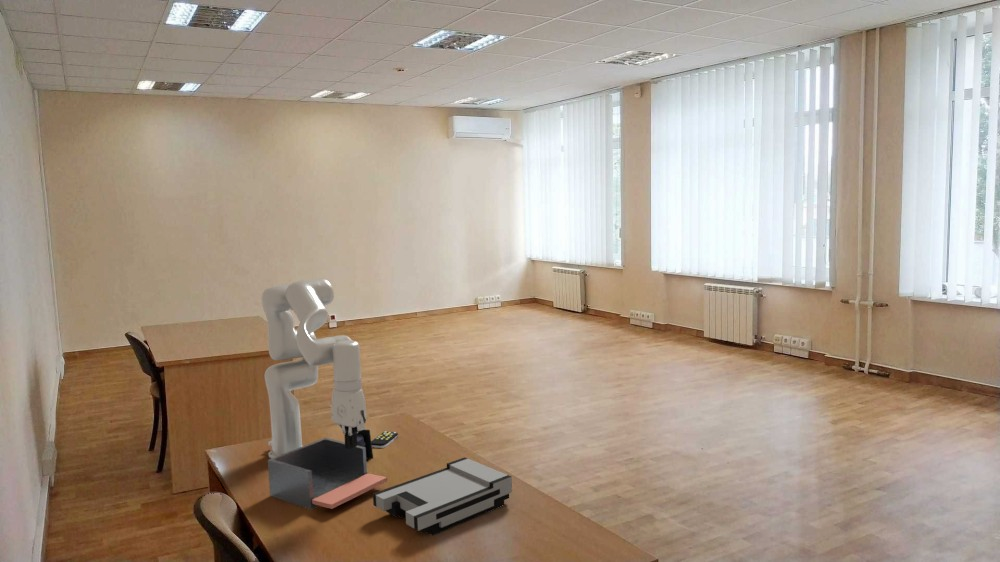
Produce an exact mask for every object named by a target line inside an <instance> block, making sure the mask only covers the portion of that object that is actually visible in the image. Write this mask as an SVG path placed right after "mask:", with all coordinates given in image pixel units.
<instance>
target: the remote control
mask: <svg viewBox="0 0 1000 562" xmlns="http://www.w3.org/2000/svg"><path fill="white" fill-rule="evenodd" d="M398 437H399V433H398V432H396V431H387V430H386V431H383V432H381V433H380V434H379V435H378V436H376V437H375V438H374V439H371V444H372V448H373V447H374V448H375V449H383V448H384V447H385V448H386V447H388V445H391V443H392V442H394V441H395V440H396V439H398ZM385 448H384V449H385Z"/></svg>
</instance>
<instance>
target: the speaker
mask: <svg viewBox="0 0 1000 562" xmlns="http://www.w3.org/2000/svg"><path fill="white" fill-rule="evenodd" d="M371 441H372V438H371V431H370V429H366V428H365V429H364V430H361V431H358V433H357V445H358V446H362V447H366V459H373V458H374V452H373V447H372V444H371Z"/></svg>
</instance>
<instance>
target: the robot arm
mask: <svg viewBox="0 0 1000 562" xmlns="http://www.w3.org/2000/svg"><path fill="white" fill-rule="evenodd" d="M334 297H335V292H334V288H333V285H332V284H331V282H330V281H328V280H327V279H325V278H314V279H313V278H312V279H305V280H298V281H294V282H291V283H287V284H279V285H273V286H268V287H266V288H265V289H264V290H263V292H262V294H261V306H262V309H263V311H264V313H265V317H266V321H267V348H268V353H269V354H268V355H269V357H270V358H271V359H272V360H273V361H278V362H279V361H284V362H279V363H276V364H273V365H270V366H269V367H268V368H267V369H266V370H265V372H264V382H265V386H266V390H267V395H268V402H269V411H270V425H271V427H270V428H271V439H270V441H268V442H267V445H268V446H270V447H271V450H270V451H268V458H269V459H272V458H274V457H277V456H279V455H282V454H285V453H287V452H290V451H292V450H295V449H297V448H300V447H302V446H304V445H303V440H302V439H303V438H302V427H301V426H302V424H301V423H302V422H301V412H300V411H301V410H300V402H299V400H298V398H297V397H296V396H295V395H294V394H293V393H292V391H294V390H298V389H303V388H307V387H311V386H313V385H314V386H315V385H316V383H317V382H318V379H319V366H324V365H329V364H332V367H333V380H332V381H333V384H334V387H333V388H332V392H331V400H330V401H331V402H330V415H331V417H330V418H331V421H332V423H334V424H336V425H337V426H338V427H340V428H341V431H342V434H343V435H344V436H343V437H344V442H345V448H348V449H351V448H354V447H356V446H357V433H358V431H361V430H364V429H365V430H366V426H365V424H366V422H367V406H366V400H365V399H366V398H365V394H364V390H363V387H362V383H363V382H362V365H361V347H360V344H359V342H358V341H355V340H352V338H350V337H349V336H348V335H345V334H342V335H341V334H339V335H335V336H326V337H321V338H317V337H316V334H315V331H317V330H319V329H320V328H321V327H322V326H324V325H325V323H326V322H327V321H328V319H329V318H328V317H329V311H328V309H327V308H326V307H325V306H328V305H330V304H331V303H332V302H333V300H334ZM291 311H293V312H294V314H295V316H296V317H297V319H298V322H299V323H298V326H297V328H296V329H295V316H294V315H293V314H292V312H291ZM298 358H301V359H298ZM292 359H293V360H292ZM294 359H297V360H294ZM286 360H287V361H286ZM288 360H290V361H288ZM291 360H292V361H291ZM285 361H286V362H285Z"/></svg>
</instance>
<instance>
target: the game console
mask: <svg viewBox="0 0 1000 562" xmlns="http://www.w3.org/2000/svg"><path fill="white" fill-rule="evenodd" d="M512 493H513V476H511V475H509V474H507V473H504V472H501V471H499V470H496V469H494V468H492V467H489V466H487V465H484V464H482V463H479V462H477V461H475V460H473V459H470V458H468V457H464V456H463V457H462V458H458V459H456V460H454V461H450V462H448V463H446V467H445V468H442V469H439V470H435V471H434V472H433V471H432V472H431V473H428V474H425V475H421V476H419V477H416V478H413V479H411V480H407V481H405V482H402V483H399V484H396V485H392V486H391V487H387V488H384V489H382V490H380V491H376V492H373V493H372V501H373V502H372V503H373V506H375V507H376V508H378V509H379V510H381V511H383V512H386V513H388V514H390V515H392V516H394V517H395V518H396V517H399V516H400V517H399V518H401V517H402V518H401V519H403V520H405V524H406V525H407V526H409V527H411V528H412V529H414V530H416V531H417V532H418V531H419V532H421V533H424V534H426V533H427V534H429V535H431V536H435V535H438V534H439V533H442V532H445V531H446V530H449V529H451V528H455V527H456V526H458V525H461V524H463V523H466V522H467V521H468V522H469V521H470V520H473V519H475V518H478V517H481V516H482V515H484V514H487V513H489V511H490V512H492V511H494V510H496V508H497V509H499V508H501V507H503V506H502V505H504V506H505V500H508V499H510V494H512ZM500 506H501V507H500ZM498 507H499V508H498ZM493 509H494V510H493ZM491 510H492V511H491ZM404 518H405V519H404Z"/></svg>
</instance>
